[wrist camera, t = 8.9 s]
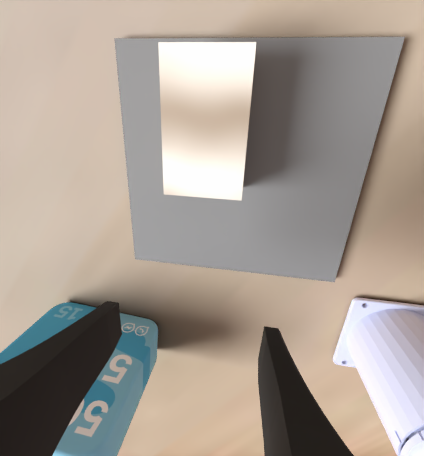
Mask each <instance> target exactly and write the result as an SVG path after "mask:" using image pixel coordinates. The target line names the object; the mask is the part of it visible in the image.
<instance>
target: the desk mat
mask: <svg viewBox="0 0 424 456" xmlns="http://www.w3.org/2000/svg"><path fill="white" fill-rule="evenodd" d="M404 38H405V37H282V38H115V49H116V60H117V70H118V81H119V92H120V102H121V113H122V124H123V134H124V145H125V155H126V166H127V177H128V187H129V198H130V209H131V219H132V230H133V241H134V251H135V259H138V260H147V261H156V262H164V263H173V264H181V265H190V266H199V267H207V268H216V269H225V270H233V271H242V272H251V273H259V274H268V275H277V276H285V277H294V278H303V279H311V280H320V281H329V282H335V279H336V276H337V272H338V269H339V265H340V262H341V258H342V255H343V251H344V248H345V244H346V241H347V237H348V234H349V230H350V227H351V223H352V220H353V216H354V213H355V209H356V206H357V202H358V199H359V195H360V192H361V188H362V185H363V181H364V178H365V174H366V171H367V167H368V164H369V160H370V157H371V153H372V150H373V147H374V143H375V140H376V136H377V133H378V129H379V126H380V122H381V119H382V115H383V112H384V108H385V105H386V101H387V98H388V94H389V91H390V87H391V84H392V80H393V77H394V73H395V70H396V66H397V63H398V59H399V56H400V52H401V49H402V45H403V42H404ZM158 42H256V53H255V65H254V76H253V86H252V97H251V108H250V118H249V129H248V140H247V150H246V161H245V172H244V182H243V192H242V201H240V200H227V199H215V198H202V197H190V196H177V195H165V194H164V188H163V160H162V132H161V104H160V76H159V48H158Z"/></svg>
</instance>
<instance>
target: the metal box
mask: <svg viewBox="0 0 424 456" xmlns="http://www.w3.org/2000/svg"><path fill="white" fill-rule="evenodd" d="M158 48H159V76H160V104H161V132H162V160H163V188H164V194H165V195H177V196H190V197H202V198H215V199H227V200H240V201H242V192H243V182H244V172H245V161H246V150H247V140H248V129H249V118H250V108H251V97H252V86H253V76H254V65H255V53H256V42H158Z"/></svg>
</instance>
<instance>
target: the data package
mask: <svg viewBox="0 0 424 456" xmlns="http://www.w3.org/2000/svg"><path fill="white" fill-rule="evenodd" d="M94 309H96V307H91V306H87V305H82V304H78V303H72V302H68V303H62V304H59V305H57V306H55V307H53V308H52V309H50V310H49V311H48V312H47V313H46V314H45V315H44V316H42V317H41V318H40V319H39V320H38V321H37V322H35V323H34V324H33V325H32V326H31V327H30V328H29V329H27V330H26V331H25V332H24V333H23V334H22V335H21V336H19V337H18V338H17V339H16V340H15V341H14V342H13V343H11V344H10V345H9V346H8V347H7V348H6V349H5V350H3V351H2V352H1V353H0V364H2V363H4V362H6V361H8V360H10V359H12V358H14V357H16V356H18V355H20V354H22V353H23V352H25V351H27V350H29V349H31V348H33V347H35V346H36V345H38V344H40V343H42V342H43V341H45V340H47V339H48V338H50V337H52V336H53V335H55V334H57V333H58V332H60V331H62V330H63V329H65V328H67V327H68V326H70V325H71V324H73V323H74V322H76V321H77V320H79V319H81V318H82V317H84V316H85V315H87V314H88V313H90V312H91V311H93V310H94ZM120 320H121V329H122V335H121V337H120V340H119V342H118V344H117V346H116V348H115V350H114V352H113V354H112V355H111V357H110V359H109V360H108V362H107V363H106V365H105V367H104V368H103V370H102V371H101V373H100V374H99V376H98V377H97V379H96V381H95V382H94V384H93V385H92V387H91V388H90V390H89V391H88V393H87V394H86V396H85V397H84V399H83V401H82V402H81V404H80V405H79V407H78V409H77V410H76V412H75V414H74V416H73V417H72V419H71V421H70V423H69V425H68V427H67V429H66V430H65V432H64V434H63V436H62V438H61V440H60V442H59V444H58V446H57V448H56V449H55V451H54V453H53V455H52V456H117V454H118V452H119V449H120V447H121V445H122V442H123V440H124V437H125V435H126V433H127V430H128V428H129V425H130V423H131V420H132V418H133V416H134V413H135V411H136V408H137V406H138V403H139V401H140V399H141V396H142V394H143V391H144V389H145V386H146V384H147V382H148V379H149V377H150V374H151V372H152V369H153V367H154V365H155V362H156V359H157V341H158V327H157V325H156V323H155V322H154V321H152V320H150V319H146V318H142V317H137V316H133V315H128V314H123V313H120Z"/></svg>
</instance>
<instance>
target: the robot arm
mask: <svg viewBox="0 0 424 456" xmlns="http://www.w3.org/2000/svg"><path fill="white" fill-rule="evenodd" d="M364 303H366V304H365V305H362V304H364ZM121 335H122V329H121V320H120V311H119V303H115V302H108V301H107V302H105V303H104V304H102V305H101V306H99V307H97V308H96V309H94V310H93V311H91V312H90V313H88V314H87V315H85V316H84V317H82V318H81V319H79V320H77V321H76V322H74V323H73V324H71V325H70V326H68V327H67V328H65V329H63V330H62V331H60V332H58V333H57V334H55V335H53V336H52V337H50V338H48V339H47V340H45V341H43V342H42V343H40V344H38V345H36V346H35V347H33V348H31V349H29V350H27V351H25V352H23V353H22V354H20V355H18V356H16V357H14V358H12V359H10V360H8V361H6V362H4V363H2V364H0V456H52V455H53V453H54V451H55V449H56V448H57V446H58V444H59V442H60V440H61V438H62V436H63V434H64V432H65V430H66V429H67V427H68V425H69V423H70V421H71V419H72V417H73V416H74V414H75V412H76V410H77V409H78V407H79V405H80V404H81V402H82V401H83V399H84V397H85V396H86V394H87V393H88V391H89V390H90V388H91V387H92V385H93V384H94V382H95V381H96V379H97V377H98V376H99V374H100V373H101V371H102V370H103V368H104V367H105V365H106V363H107V362H108V360H109V359H110V357H111V355H112V354H113V352H114V350H115V348H116V346H117V344H118V342H119V340H120V337H121ZM333 361H334V363H335V364H337V365H343V366H349V367H355V368H357V370H358V372H359V374H360V377H361V379H362V381H363V383H364V385H365V387H366V390H367V392H368V394H369V396H370V398H371V400H372V402H373V405H374V407H375V409H376V411H377V413H378V415H379V417H380V420H381V422H382V424H383V426H384V428H385V430H386V433H387V435H388V437H389V439H390V441H391V443H392V445H393V448H394V450H395V452H396V454H397V456H424V305H416V304H408V303H399V302H391V301H383V300H375V299H366V298H354V299H353V300H352V301H351V304H350V307H349V310H348V314H347V317H346V320H345V323H344V326H343V329H342V332H341V335H340V338H339V341H338V344H337V347H336V350H335V353H334V356H333ZM258 384H259V395H260V406H261V417H262V427H263V438H264V452H265V456H354V455H353V454H352V453H351V451H350V450H349V449H348V448H347V446H346V445H345V443H344V442H343V441H342V439H341V438H340V436H339V435H338V434H337V432H336V431H335V429H334V428H333V426H332V425H331V423H330V422H329V421H328V419H327V418H326V416H325V415H324V413H323V411H322V410H321V408H320V407H319V405H318V404H317V402H316V400H315V399H314V397H313V395H312V394H311V392H310V390H309V389H308V387H307V385H306V383H305V382H304V380H303V378H302V376H301V374H300V373H299V371H298V369H297V367H296V365H295V363H294V361H293V359H292V357H291V355H290V353H289V351H288V349H287V347H286V345H285V342H284V340H283V338H282V335H281V333H280V331H279V329H277V328H271V327H265V326H264V331H263V336H262V342H261V347H260V352H259V358H258Z"/></svg>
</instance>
